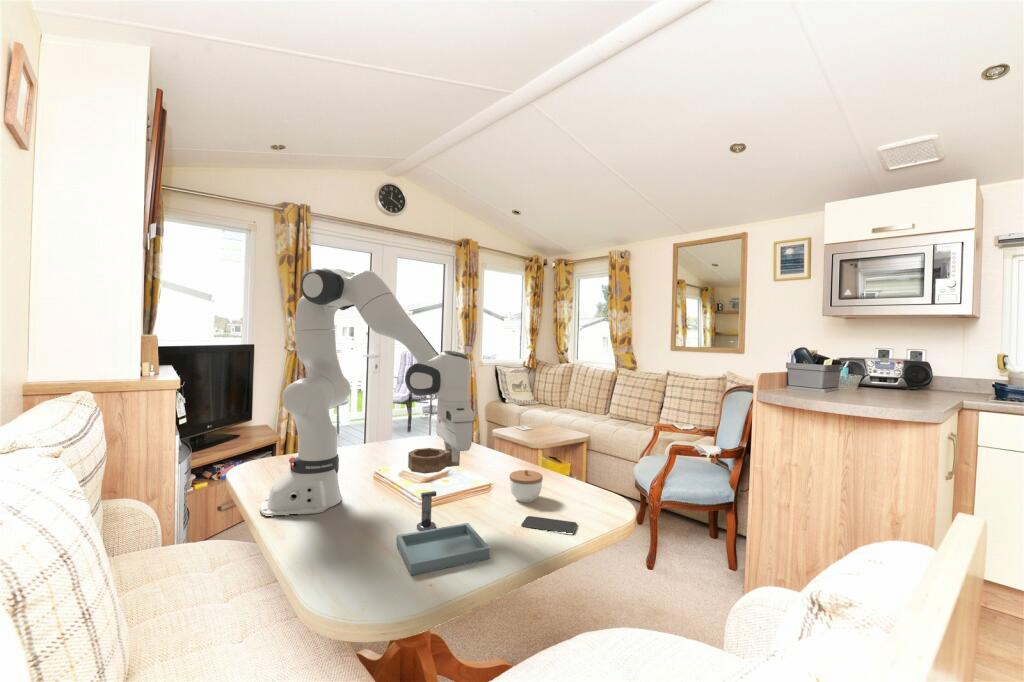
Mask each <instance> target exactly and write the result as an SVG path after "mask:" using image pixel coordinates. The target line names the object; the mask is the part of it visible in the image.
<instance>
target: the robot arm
mask: <svg viewBox="0 0 1024 682" xmlns="http://www.w3.org/2000/svg"><path fill="white" fill-rule="evenodd" d="M300 291H301V294H302V295H303V296H302V297H301V296H300V298H299V299H298V300H297V303H296V309H295V319H294V320H295V321H294V322H295V325H294V327H295V346H296V348H295V349H296V357H297V359H298V360H299V361H300V362H301V363H302V364H303V366H304V368H305V370H306V374H307V377H302V378H299V379H297V380H295V381H293V382H292V383H290V384H288V385H287V386H286V387H285V388H284V390H283V392H282V396H281V401H282V404H283V406H284V409H285V410H286V411H287V412H288V413H289V414H290V415H291V416H292V418H293V420H294V423H295V427H296V430H297V456H294V455H292V456H290V457H289V458H288V463H289V465H290V467H289V469H290V470H289V471H287V472H286V473H285V474H284V475H283V476H281V477H280V478H278V480H276V481H275V482H274V483H273V484H272V486H271V488H270V490H269V494H268V497H266V498H265V499H264V500H263V501H261V503H260V505H259V512H260V511H261V513H262V514H264V515H285V516H290V515H289V514H298V515H310V514H321V513H323V512H325V511H326V510H327V509H329V508H332V507H334V506H336V505H338V504H339V503H340V502H342V499H343V497H342V494H341V490H340V484H339V476H338V475H339V469H340V467H339V466H340V457H339V454H338V429H337V427H336V426H334V425H333V422H332V420H331V417H330V409H333V408H336V407H338V406H340V405H342V403H344V402H345V401H346V400H347V399H348V398H349V396H350V393H351V385H350V383H349V380H348V379H347V378H346V376H344V374H343V372H342V368H341V366H340V363H339V360H338V354H337V346H336V345H337V343H336V342H337V341H336V330H335V328H336V327H335V315H336V312H338V310H341V311H346V310H348V309H350V308H353V307H355V308H356V310H357V312H358V313H359V315H360V316H361V318H362V320H363V321H364V322H365V324H366V325H367V326H368V327H369V328H370V329H371V330H372V331H373V332H375V333H376V334H379V335H381V336H385V337H388V338H391V339H393V340H396V341H397V342H399V343H401V344H402V345H404V347H406V349H407V350H408V351H409V352H410V353H411V355H412V356H413V358H414V359H415V360H416V361H417V363H414V364H412V365H411V366H410V367H408V368H407V370H406V372H405V376H404V382H405V385H406V388H407V389H408V391H409V392H410V393H411V394H412V395H414V396H417V397H418V396H419V397H427V396H432V395H436V396H437V403H436V404H437V405H436V406H437V407H436V409H437V410H436V411H437V412H436V427H435V430H436V431H435V432H436V435H437V436H438V437H439V438H440V439H442V440H443V444H444V450H448V449H452V454H451V455H450V457H451V458H450V459H451V461H452V462H457V461H458V455H459V452H460V453H461V452H468V451H470V450H471V447H472V444H473V443H472V442H473V429H474V428H473V426H474V425H473V422H474V421H475V419H476V418H475V413H474V411H473V409H472V408H471V404H470V394H469V388H470V386H471V364H470V360H469V357H468V356H467V355H466V354H464V353H463V352H462V353H461V352H459V351H454V350H443V351H441V352H440V353H438V351H436V349H435V348H434V346H433V345H432V344H431V342H430V341H429V340H428V339H427V337H426V336H425V335H424V333H422V330H420V329H419V327H418V326H417V325H416V323H414V321H413V320H412V319H411V318H410V316H409V315H408V313H407V312H406V311H405V309H404V308H403V306H402V305H401V304H400V303H399V301H398V299H397V298H396V296H395V295H394V293H393V292H392V291H391V288H389V286H388V285H387V284H386V283H385V281H384V280H383V279H382V278H381V277H380V276H378V274H377V273H375V272H374V271H372V270H368V269H365V270H364V269H363V270H360V271H358V272H349V271H347V270H343V269H336V268H335V269H333V268H326V267H315V268H312V269H310V270H308V271H306V272H305V273H304V274H303V276H302V278H301V280H300ZM261 513H260V514H261ZM262 514H261V515H262ZM287 514H288V515H287Z"/></svg>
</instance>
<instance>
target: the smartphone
mask: <svg viewBox="0 0 1024 682" xmlns="http://www.w3.org/2000/svg"><path fill="white" fill-rule="evenodd" d="M576 526H577V527H578V523H577V522H576V521H570V520H569V521H568V520H561V519H554V518H547V517H542V516H541V517H540V516H532V515H527V516H526V517H525V519H524V520H523V522H522V523H521V526H520V527H522V528H525V529H530V530H531V529H532V530H533V529H534V530H537V529H538V531H543V530H547V531H546V532H549V531H557V532H566V533H573V532H574V531H575V532H576V530H575V528H576ZM576 529H577V528H576Z"/></svg>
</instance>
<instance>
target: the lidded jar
mask: <svg viewBox="0 0 1024 682" xmlns="http://www.w3.org/2000/svg"><path fill="white" fill-rule="evenodd" d="M543 478H544V477H543V474H542V473H541V472H537V471H535V470H528V469H519V470H515V471H512V472H511V473H509V488H510V491H511V494H512V495H513V497H514V498H515V499H516V501H518V502H521V503H533V502H534V501H535V499H537V498H538V497H539V495H540V494H541V492H542V488H543Z"/></svg>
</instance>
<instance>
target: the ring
mask: <svg viewBox="0 0 1024 682" xmlns="http://www.w3.org/2000/svg"><path fill="white" fill-rule="evenodd" d="M451 454H452V449H448V450H445V449H441V448H440V449H439V448H433V447H432V448H431V447H424V448H415V449H413V450H411V451H409V452H408V456H407V457H408V458H407V459H408V460H407V462H408V463H407V467H408V469H409V470H410V471H411V472H413V473H418V474H424V475H425V474H434V473H440V472H442V471H443V470H444V469H446V468H450V467H460V465H461V464H460V458H461V457H460V456H461V451H460V452H459V455H458V461H457V462H452V461H451V459H450V458H451V457H450V455H451Z"/></svg>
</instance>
